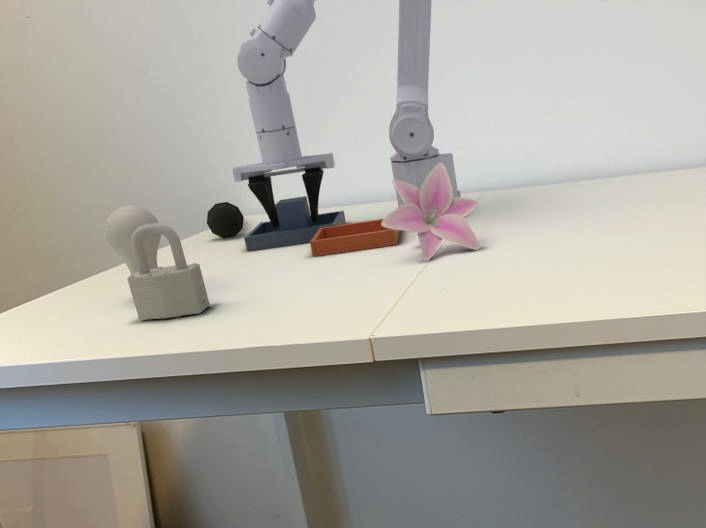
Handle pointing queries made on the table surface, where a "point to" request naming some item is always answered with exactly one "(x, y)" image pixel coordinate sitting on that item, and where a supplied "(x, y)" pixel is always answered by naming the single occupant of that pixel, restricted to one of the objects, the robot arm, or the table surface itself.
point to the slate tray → (289, 232)
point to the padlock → (165, 280)
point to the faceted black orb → (225, 220)
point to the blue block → (293, 214)
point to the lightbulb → (121, 233)
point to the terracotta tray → (352, 237)
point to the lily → (433, 213)
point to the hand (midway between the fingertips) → (295, 223)
